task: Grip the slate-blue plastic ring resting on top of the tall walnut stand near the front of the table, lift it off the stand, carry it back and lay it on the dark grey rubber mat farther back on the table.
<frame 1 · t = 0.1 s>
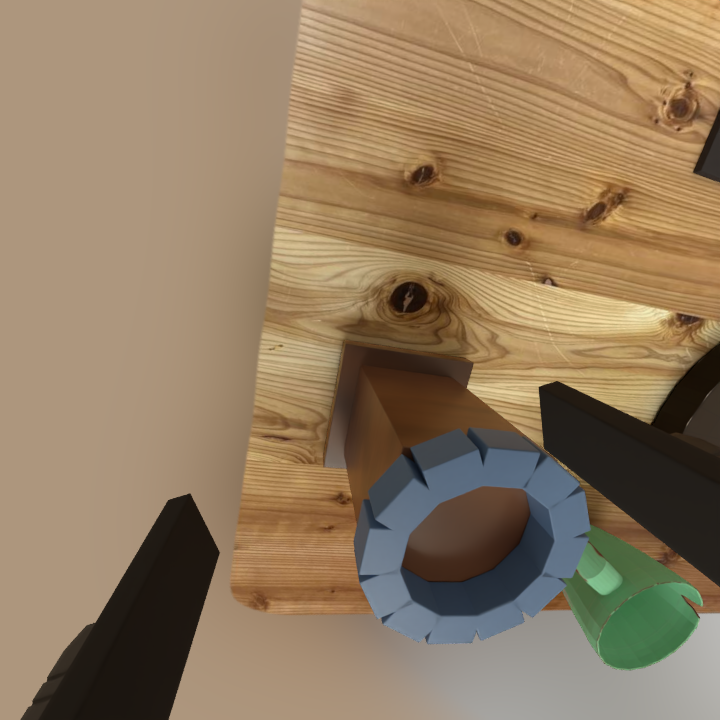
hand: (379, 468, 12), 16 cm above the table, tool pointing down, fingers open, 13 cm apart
ring: (462, 525, 16), point 14 cm above the table, touching stand
stand: (393, 408, 30), on the table
mug: (551, 522, 37), on the table
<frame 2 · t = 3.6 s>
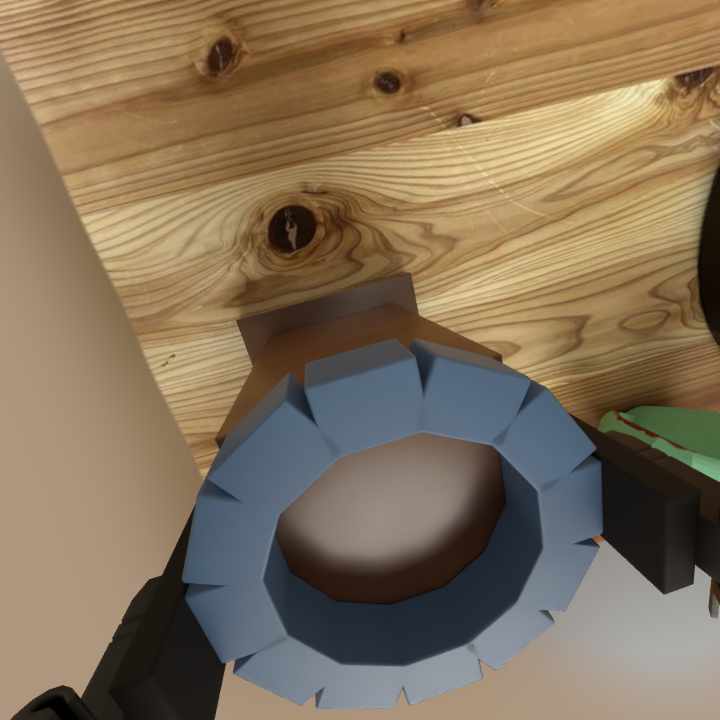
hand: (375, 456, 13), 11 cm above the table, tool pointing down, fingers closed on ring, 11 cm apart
ring: (394, 512, 10), point 14 cm above the table, touching gripper, stand
stand: (345, 370, 23), on the table
mug: (613, 423, 28), on the table
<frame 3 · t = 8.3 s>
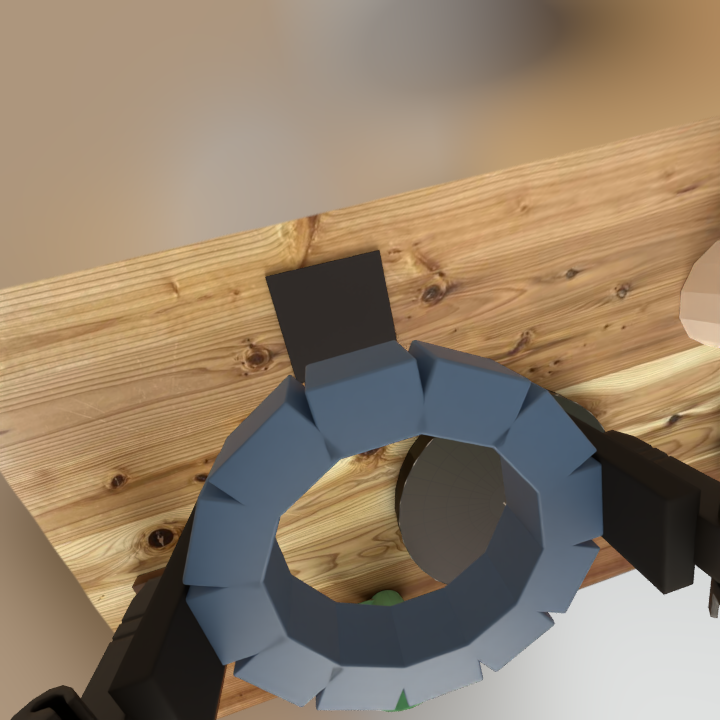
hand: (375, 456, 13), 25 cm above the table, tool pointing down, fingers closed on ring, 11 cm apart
ring: (394, 514, 10), point 28 cm above the table, touching gripper
stand: (198, 592, 44), on the table
mug: (369, 599, 49), on the table
mat: (336, 318, 37), on the table
disc: (497, 485, 47), on the table
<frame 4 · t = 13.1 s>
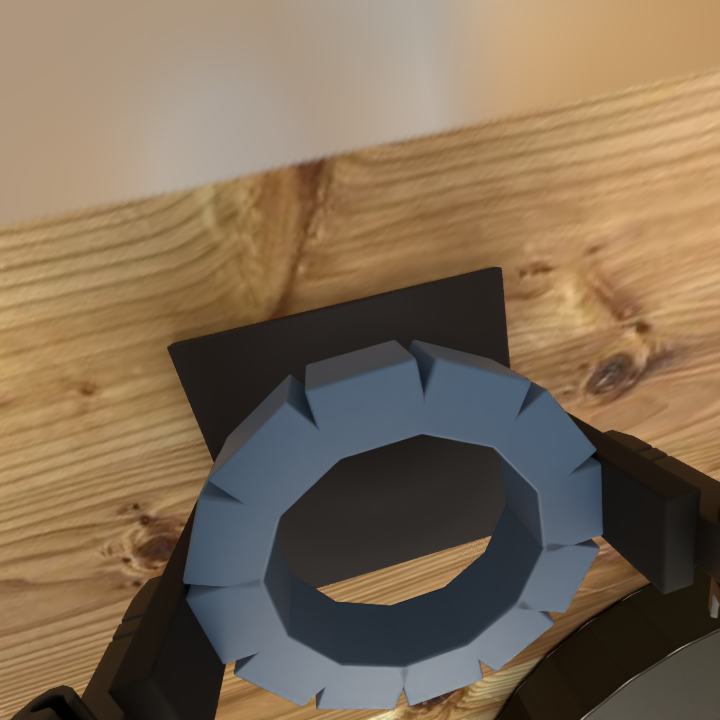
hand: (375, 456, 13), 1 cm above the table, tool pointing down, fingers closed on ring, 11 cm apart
ring: (394, 513, 10), point 4 cm above the table, touching gripper
mat: (372, 444, 14), on the table
disc: (671, 719, 24), on the table
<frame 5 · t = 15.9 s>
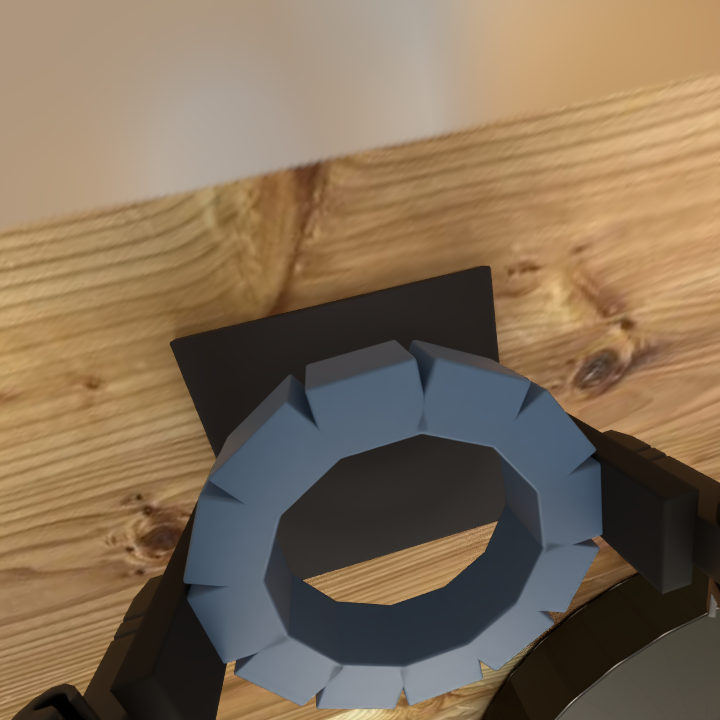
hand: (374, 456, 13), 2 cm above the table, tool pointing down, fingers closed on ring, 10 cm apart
ring: (394, 513, 10), point 5 cm above the table, touching gripper
mat: (367, 436, 14), on the table
disc: (660, 706, 24), on the table
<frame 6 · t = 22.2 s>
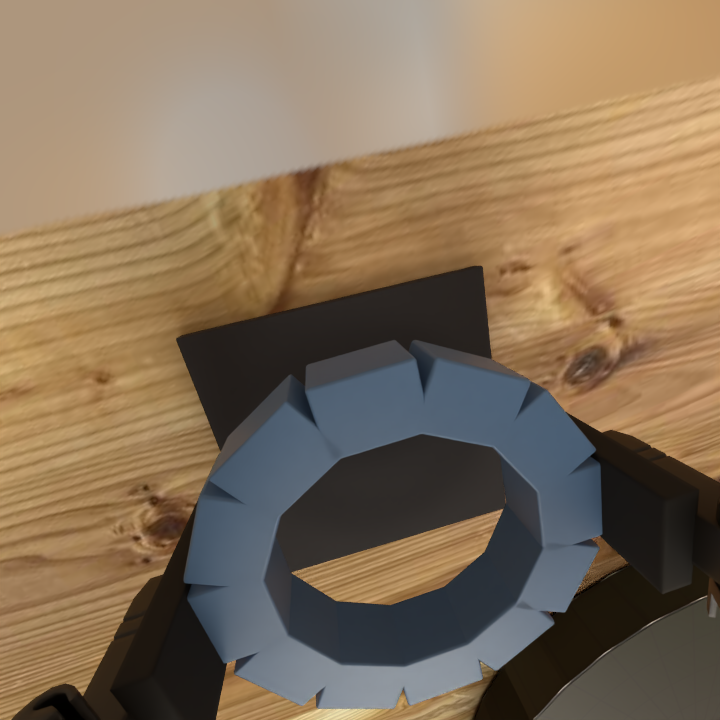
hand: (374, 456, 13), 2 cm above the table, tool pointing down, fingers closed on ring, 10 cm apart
ring: (394, 513, 10), point 5 cm above the table, touching gripper
mat: (364, 430, 15), on the table
disc: (652, 696, 25), on the table
when the fingers open (3 cm above the table, at t = 28.3 s): ring drops 5 cm, resting on mat.
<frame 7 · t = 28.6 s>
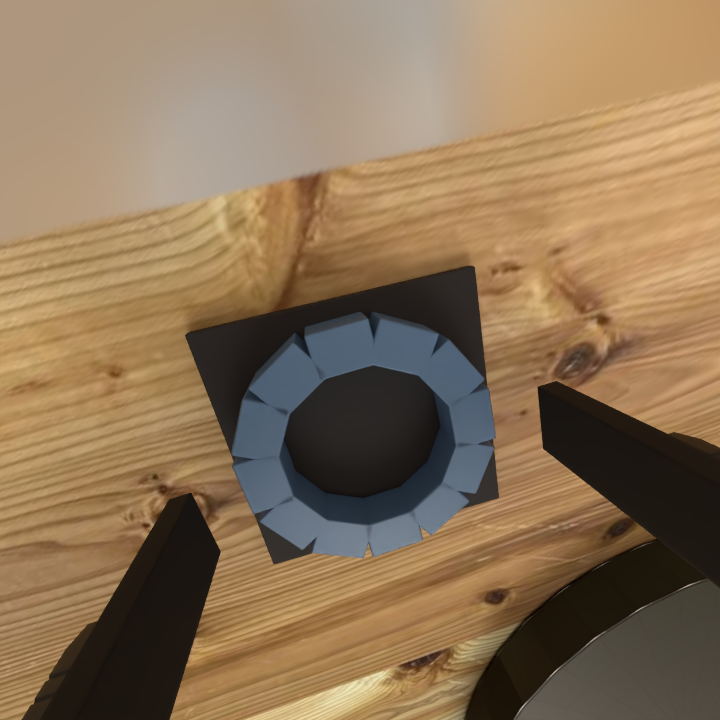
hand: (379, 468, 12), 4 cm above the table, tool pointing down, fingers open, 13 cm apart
ring: (364, 430, 15), point 1 cm above the table, touching mat
mat: (363, 422, 16), on the table
disc: (643, 685, 26), on the table
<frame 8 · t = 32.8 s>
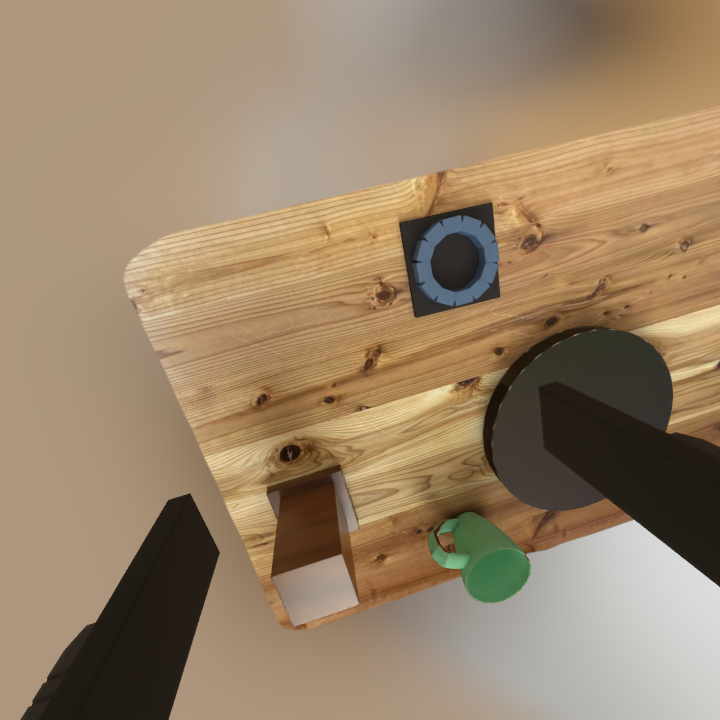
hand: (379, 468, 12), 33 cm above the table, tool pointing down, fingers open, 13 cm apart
ring: (452, 262, 43), point 1 cm above the table, touching mat
stand: (314, 505, 51), on the table
mug: (454, 519, 56), on the table
mat: (451, 261, 44), on the table
disc: (569, 418, 53), on the table
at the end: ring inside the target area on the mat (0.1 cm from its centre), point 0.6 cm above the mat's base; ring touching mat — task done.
